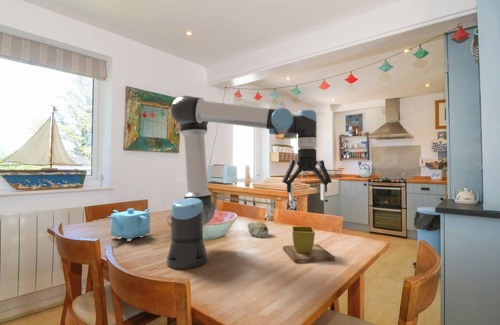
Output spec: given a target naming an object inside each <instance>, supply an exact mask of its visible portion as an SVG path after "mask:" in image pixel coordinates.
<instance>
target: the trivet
mask: <svg viewBox="0 0 500 325" xmlns="http://www.w3.org/2000/svg"><path fill="white" fill-rule="evenodd" d="M282 250H283V251H284V252H285V253H286V255H287V256H288V257H289V258H290V259H291V260H292V262H293V263H294V264H302V263H317V262H334V261H336V256H334V255H333V254H332V253H331V252H329V251H328V250H327V249H326V248H324V247H323V246H321V245H320V244H318V243H317V244H313V247H312V250H311V251H310V253H303V252H297V251H296V250H295V247H294V245H284V246H282Z"/></svg>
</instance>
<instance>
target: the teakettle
mask: <svg viewBox="0 0 500 325" xmlns="http://www.w3.org/2000/svg"><path fill="white" fill-rule="evenodd" d="M150 210H151V208H147V209H144V211H141V210H135V208H127V210H125V211H120V212H119V211H118V210H115V209H114V210H112V211H113V213H111V214H110V215H109V216H107V218H109V219H110V220H111V221H110V226H111V227H110V235H111V236H113V237H116V238H118V237H122V238H123V239H134V238H138V236H144V237H145V235H147V234H148V235H149V234H150V233H151V231H150V230H151V221H150V220H151V216H150V214H151V213H150V212H149V211H150Z"/></svg>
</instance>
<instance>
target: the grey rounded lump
mask: <svg viewBox="0 0 500 325" xmlns="http://www.w3.org/2000/svg"><path fill="white" fill-rule="evenodd" d="M247 228H248V233H249V234H250V235H251V236H254V237H256V238H259V239H261V238H263V239H265V237H266V238H268V237H269V228H268V226H267V225H266V223H264V222H263V221H252V222H248V223H247Z"/></svg>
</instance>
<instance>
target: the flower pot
mask: <svg viewBox="0 0 500 325" xmlns="http://www.w3.org/2000/svg"><path fill="white" fill-rule="evenodd" d="M291 230H292V231H291V232H292V242H293V246H294V247H295V250H296V251H297V252H303V253H310V251H311V250H312V247H313V245H315V244H314V243H315V235H316V233H315V232H316V231H315V229H314V227H313V226H297V225H296V226H295V225H294V226H293V225H292V227H291Z"/></svg>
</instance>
